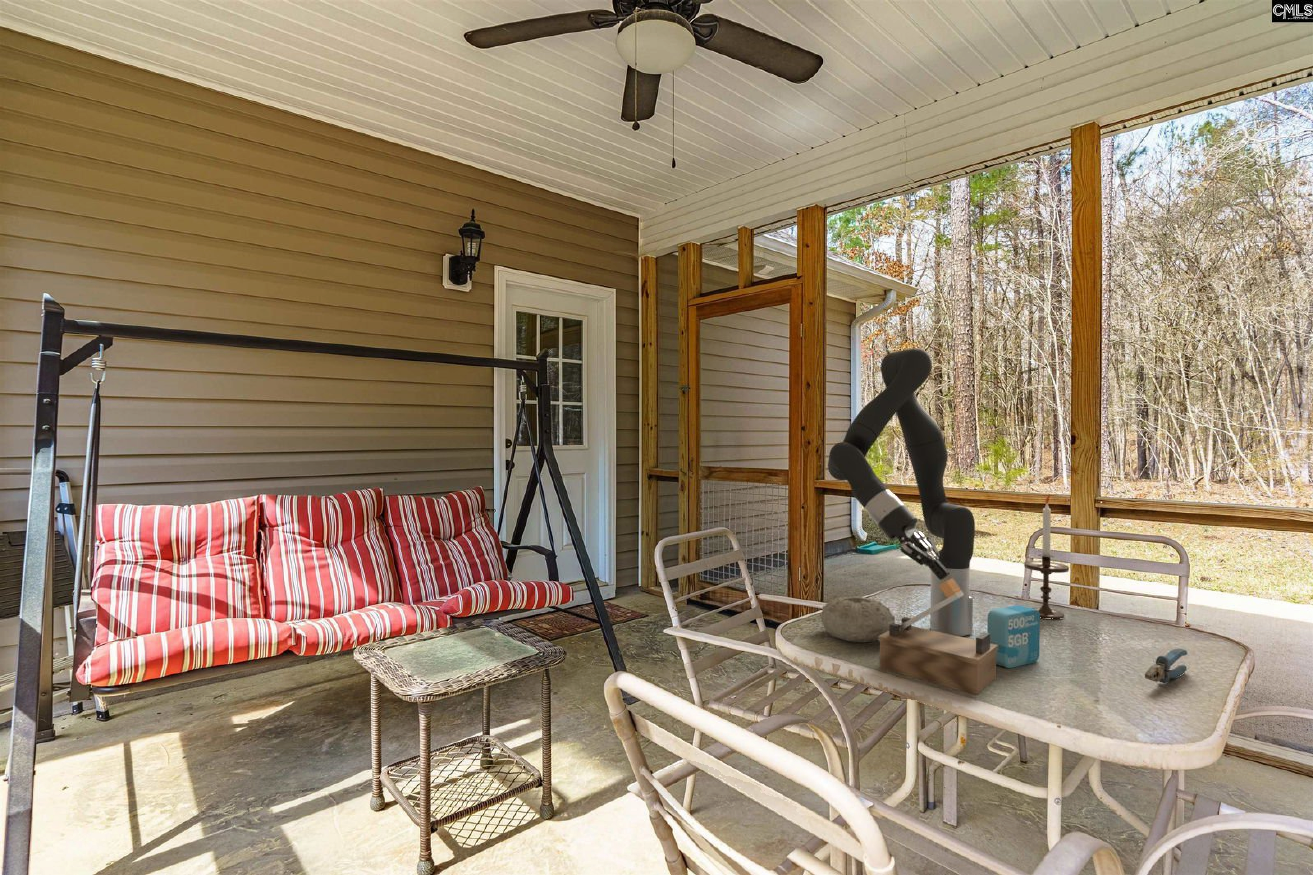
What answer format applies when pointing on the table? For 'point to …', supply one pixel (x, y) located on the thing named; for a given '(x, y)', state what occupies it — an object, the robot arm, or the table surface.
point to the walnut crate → (939, 657)
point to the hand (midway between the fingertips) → (945, 576)
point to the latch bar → (951, 593)
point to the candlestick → (1047, 567)
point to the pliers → (1166, 667)
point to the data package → (1015, 635)
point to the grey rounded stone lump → (856, 618)
